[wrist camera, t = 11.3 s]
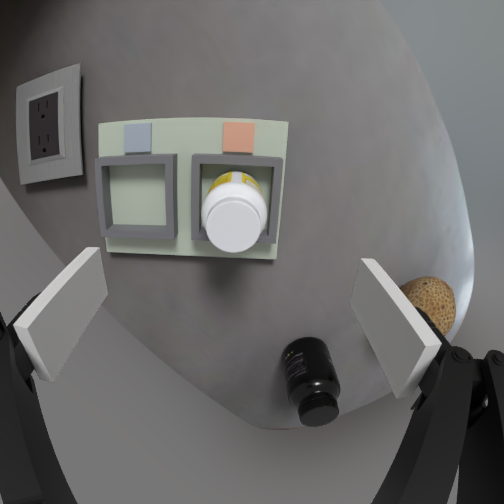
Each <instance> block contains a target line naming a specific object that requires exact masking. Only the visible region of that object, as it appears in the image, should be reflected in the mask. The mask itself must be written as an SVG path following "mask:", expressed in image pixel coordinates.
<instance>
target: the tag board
mask: <svg viewBox="0 0 504 504" xmlns="http://www.w3.org/2000/svg"><path fill="white" fill-rule="evenodd" d="M287 135H288V122H283V121H271V120H258V119H239V118H162V119H144V120H131V121H120V122H110V123H101V124H99V158H96V159H95V181H96V195H97V206H98V216H99V225H100V233H101V237H105V239H106V246H107V252H121V253H142V254H163V255H185V256H208V257H231V258H255V259H276V255H277V246H278V236H279V226H280V215H281V205H282V194H283V183H284V171H285V160H286V147H287ZM233 170H238V171H243V172H246V173H248V174H250V175H251V176H252V177H254V178H255V180H256V181H257V182H258V184H259V186H260V188H261V191H262V194H263V197H264V200H265V203H266V207H267V221H266V225H265V227H264V229H263V231H262V233H261V234H260V235H259V238H258V240H257V241H256V242H255V244H254V245H253V246H251V247H250V248H249V249H247V250H245V251H242V252H237V253H230V252H225V251H222V250H220V249H218V248H217V247H216V246H214V245H213V244H212V242H211V241H210V240H209V238H208V235H207V232H206V230H205V228H204V226H203V223H202V217H201V211H202V206H203V202H204V200H205V198H206V196H207V194H208V191H209V189H210V187H211V185H212V183H213V182H214V180H215V179H216V178H217V177H218V176H220V175H221V174H223V173H225V172H228V171H233Z"/></svg>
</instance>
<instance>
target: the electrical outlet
mask: <svg viewBox="0 0 504 504" xmlns="http://www.w3.org/2000/svg"><path fill="white" fill-rule="evenodd" d="M81 64H82V63H78V64H75V65H72V66H69V67H66V68H63V69H60V70H57V71H54V72H52V73H49V74H46V75H44V76H41V77H39V78H36V79H34V80H31V81H29V82H27V83H24V84H22V85H20V86H18V87H17V90H16V139H17V154H18V166H19V175H20V183H21V185H24V184H29V183H34V182H40V181H45V180H51V179H57V178H64V177H70V176H77V175H83V163H82V149H81V129H80V83H81Z"/></svg>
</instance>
